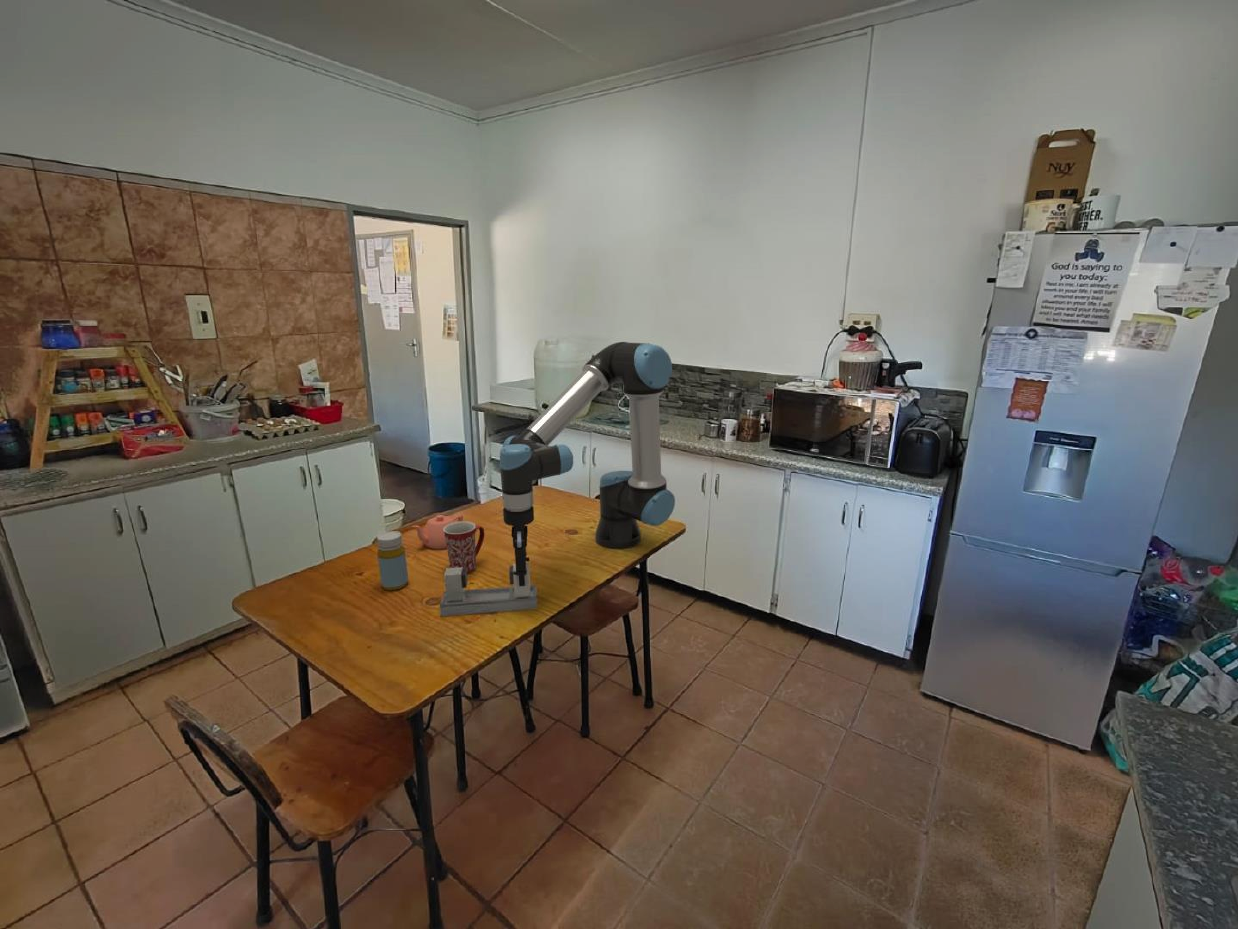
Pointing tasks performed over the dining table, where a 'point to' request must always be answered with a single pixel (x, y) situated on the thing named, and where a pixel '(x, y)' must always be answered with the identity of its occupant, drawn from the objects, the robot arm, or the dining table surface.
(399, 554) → the bottle
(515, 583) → the small grey block
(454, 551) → the mug
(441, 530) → the teapot
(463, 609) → the rail
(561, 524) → the dining table surface
